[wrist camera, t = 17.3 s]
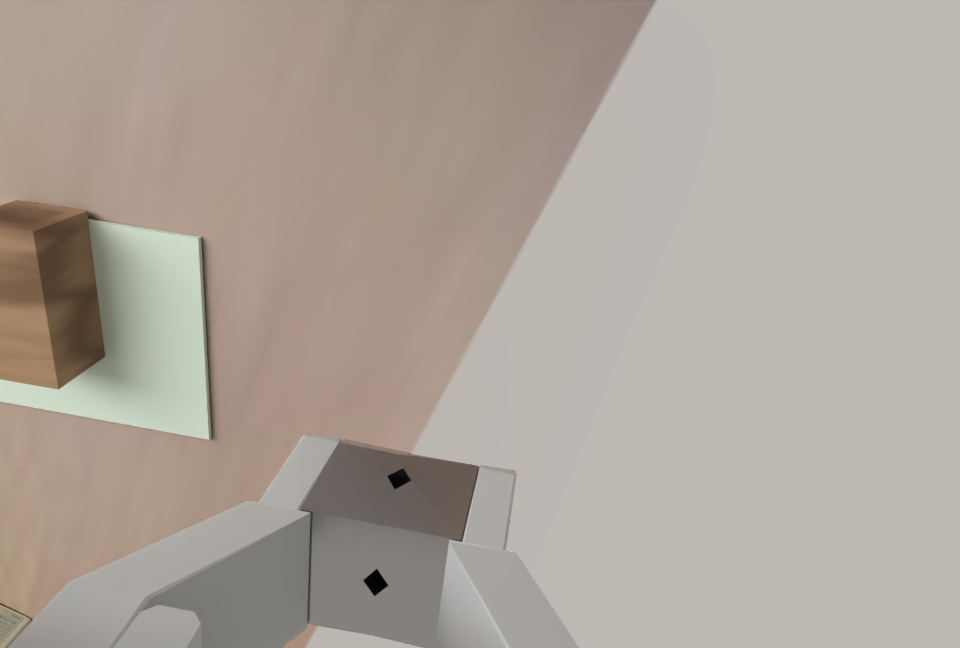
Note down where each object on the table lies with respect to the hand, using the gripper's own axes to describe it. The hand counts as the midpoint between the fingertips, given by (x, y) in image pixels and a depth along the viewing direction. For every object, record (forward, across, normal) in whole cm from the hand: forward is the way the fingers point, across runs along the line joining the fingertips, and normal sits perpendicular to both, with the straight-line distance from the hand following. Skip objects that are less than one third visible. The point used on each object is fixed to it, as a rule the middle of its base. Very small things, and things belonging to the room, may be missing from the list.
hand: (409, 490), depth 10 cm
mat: (+34, +30, +18) cm, 49 cm away
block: (+31, +32, +9) cm, 45 cm away
